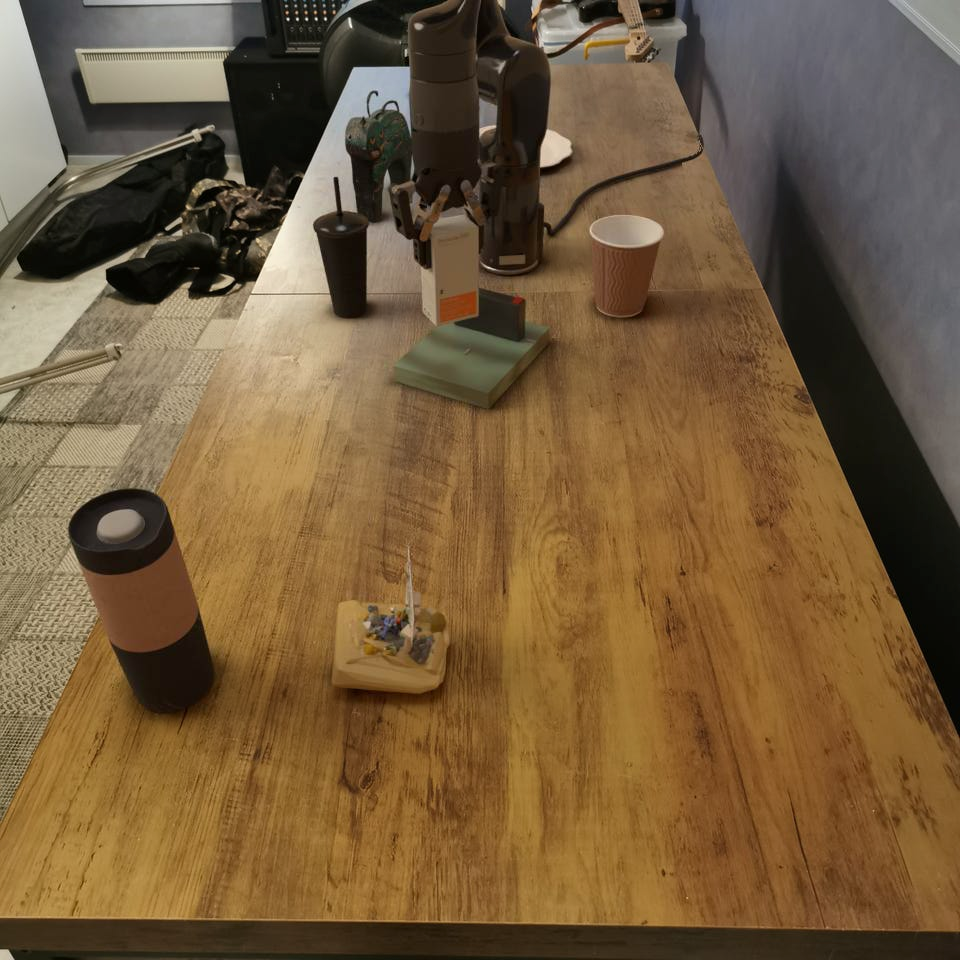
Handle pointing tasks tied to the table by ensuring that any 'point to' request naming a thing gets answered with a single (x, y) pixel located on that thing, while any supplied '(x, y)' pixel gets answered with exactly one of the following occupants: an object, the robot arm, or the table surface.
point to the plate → (549, 148)
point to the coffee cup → (623, 262)
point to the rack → (469, 362)
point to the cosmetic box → (452, 272)
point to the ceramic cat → (377, 155)
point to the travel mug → (144, 596)
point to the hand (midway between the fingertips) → (449, 259)
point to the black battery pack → (498, 315)
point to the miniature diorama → (390, 645)
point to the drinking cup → (344, 257)
